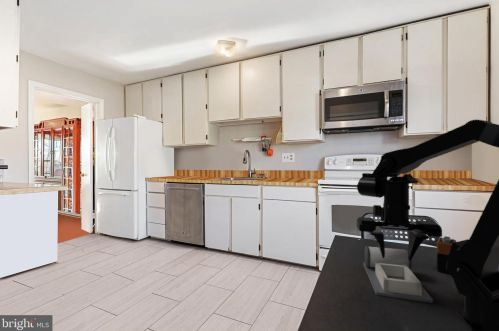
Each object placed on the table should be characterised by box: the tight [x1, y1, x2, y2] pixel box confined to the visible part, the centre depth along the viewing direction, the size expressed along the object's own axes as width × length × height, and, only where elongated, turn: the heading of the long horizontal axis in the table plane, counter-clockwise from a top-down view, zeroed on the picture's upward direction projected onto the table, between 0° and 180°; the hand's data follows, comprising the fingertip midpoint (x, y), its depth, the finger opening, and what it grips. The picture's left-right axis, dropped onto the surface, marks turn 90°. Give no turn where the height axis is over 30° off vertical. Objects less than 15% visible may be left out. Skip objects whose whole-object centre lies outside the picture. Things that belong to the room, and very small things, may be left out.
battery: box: [436, 235, 457, 275], centre depth 76 cm, size 4×7×10 cm, turn 138°
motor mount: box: [362, 245, 434, 304], centre depth 69 cm, size 20×12×7 cm, turn 164°
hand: (396, 258), depth 66 cm, fingers open, 6 cm apart
